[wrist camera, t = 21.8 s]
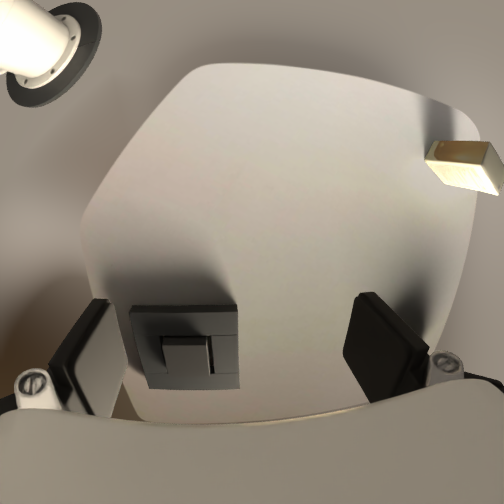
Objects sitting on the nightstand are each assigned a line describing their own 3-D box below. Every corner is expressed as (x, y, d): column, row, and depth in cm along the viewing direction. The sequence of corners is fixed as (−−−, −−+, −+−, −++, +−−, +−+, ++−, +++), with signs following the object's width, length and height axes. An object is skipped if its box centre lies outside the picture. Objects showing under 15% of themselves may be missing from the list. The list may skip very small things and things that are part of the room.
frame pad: (151, 380, 41) (149, 388, 39) (132, 305, 37) (128, 312, 35) (239, 380, 43) (239, 389, 41) (236, 303, 38) (237, 311, 36)
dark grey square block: (171, 362, 40) (168, 377, 37) (165, 331, 38) (161, 345, 35) (210, 362, 41) (209, 377, 38) (207, 331, 39) (206, 345, 36)
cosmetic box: (453, 164, 35) (508, 173, 23) (444, 184, 36) (499, 198, 24) (432, 138, 33) (490, 140, 22) (422, 159, 34) (481, 165, 23)
